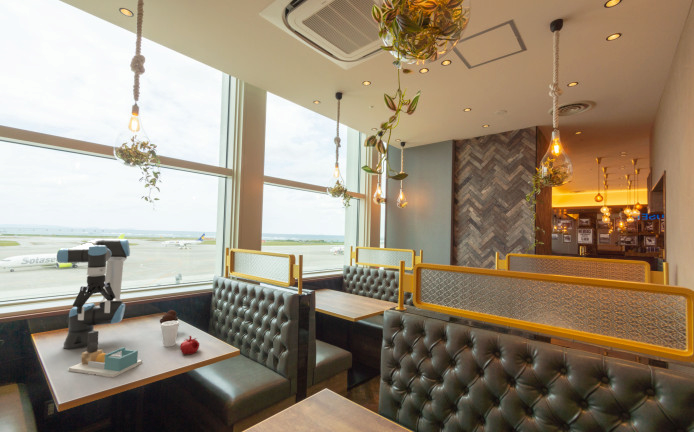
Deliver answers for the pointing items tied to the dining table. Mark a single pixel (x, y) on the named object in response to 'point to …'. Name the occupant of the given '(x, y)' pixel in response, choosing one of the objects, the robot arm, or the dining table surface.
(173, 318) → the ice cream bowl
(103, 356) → the ball
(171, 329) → the foam cup
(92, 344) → the block
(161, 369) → the dining table surface
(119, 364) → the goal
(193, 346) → the pomegranate
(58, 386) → the dining table surface
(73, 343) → the robot arm
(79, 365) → the board
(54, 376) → the dining table surface
